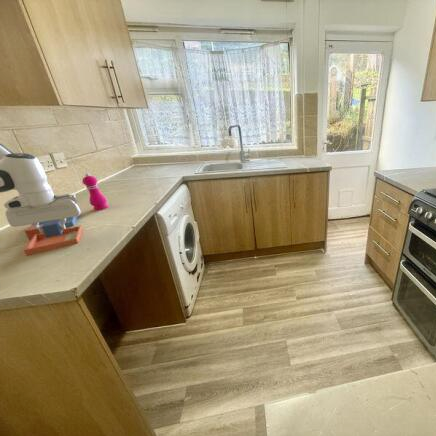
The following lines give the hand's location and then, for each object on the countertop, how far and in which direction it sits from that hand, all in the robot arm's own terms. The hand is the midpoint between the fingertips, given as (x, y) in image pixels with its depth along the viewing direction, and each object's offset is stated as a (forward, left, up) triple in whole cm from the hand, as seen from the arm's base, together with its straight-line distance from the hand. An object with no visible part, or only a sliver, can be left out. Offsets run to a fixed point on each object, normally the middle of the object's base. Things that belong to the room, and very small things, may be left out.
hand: (53, 230), depth 97 cm
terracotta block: (-9, +12, -6) cm, 16 cm away
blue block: (0, 0, -1) cm, 1 cm away
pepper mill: (+12, +37, -6) cm, 39 cm away
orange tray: (-1, +1, -6) cm, 6 cm away
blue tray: (-5, +24, -6) cm, 25 cm away
